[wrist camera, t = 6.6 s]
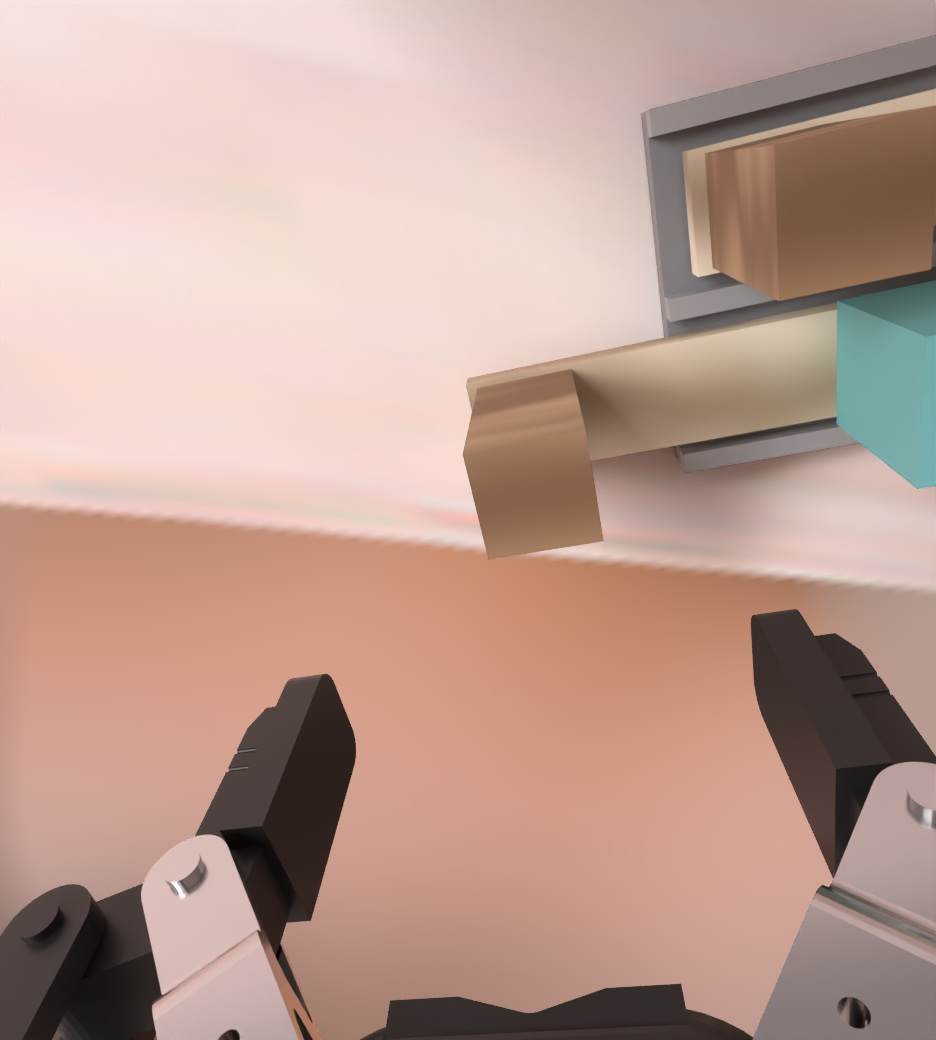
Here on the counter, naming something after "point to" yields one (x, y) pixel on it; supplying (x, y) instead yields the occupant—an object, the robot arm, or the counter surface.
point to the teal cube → (890, 377)
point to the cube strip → (632, 416)
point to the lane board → (720, 295)
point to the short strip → (818, 200)
